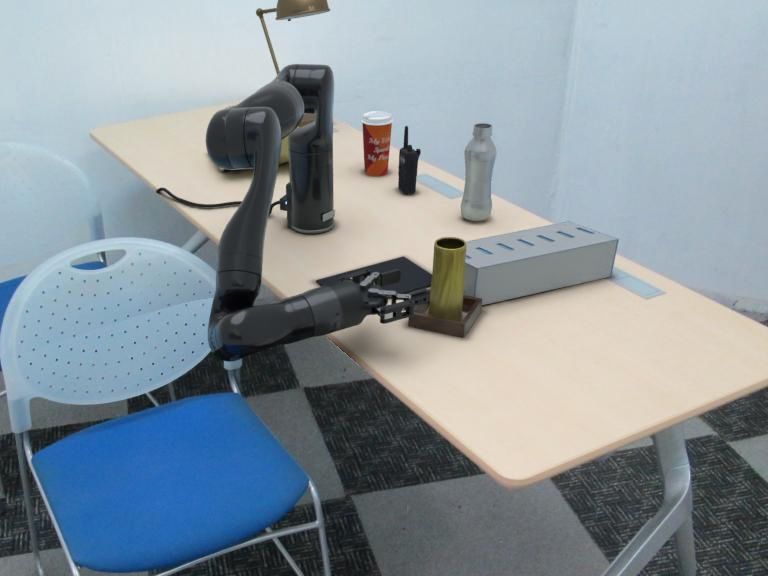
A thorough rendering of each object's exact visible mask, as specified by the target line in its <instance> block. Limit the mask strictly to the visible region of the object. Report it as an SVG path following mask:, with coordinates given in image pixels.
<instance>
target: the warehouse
mask: <svg viewBox="0 0 768 576" xmlns="http://www.w3.org/2000/svg"><path fill="white" fill-rule="evenodd" d="M619 240H620V238H617V237H615V236H612V235H608V234H606V233H603V232H601V231H597V230H594V229H592V228H589V227H586V226H584V225H580V224H578V223H575V222H572V221H564V222H558V223H553V224H548V225H543V226H537V227H533V228H528V229H523V230H518V231H517V230H516V231H512V232H507V233H502V234H498V235H497V234H496V235H492V236H487V237H482V238H476V239H471V240H466V241H465V242H466V257H465V275H464V291H463V295H465V296H471V297H476V298H481V299H482V306H485V305H489V304H490V305H491V304H494V303H499V302H503V301H509V300H512V299H516V298H521V297H525V296H529V295H534V294H539V293H543V292H549V291H552V290H557V289H563V288H566V287H570V286H575V285H579V284H584V283H589V282H592V281H598V280H602V279H607V278H611V277H612V275H613V270H614V266H615V260H616V255H617V251H618V245H619V242H620V241H619Z"/></svg>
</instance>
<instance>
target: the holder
mask: <svg viewBox="0 0 768 576" xmlns="http://www.w3.org/2000/svg"><path fill="white" fill-rule="evenodd" d="M427 290H429V291H430V292H431V288H427ZM429 301H430V297H429ZM429 301H428V302H427V303H424V304H421V305H418V306H414V316H412V317H408V319H407V321H408V322H407V326H408V327H411V328H416V329H420V330H426V331H431V332H434V333H439V334H444V335H450V336H454V337H459V338H465V337H466V335H467V334H468V332H469V331H470V329H471V328H472V326H473V325H474V323H475V322H476V320H477V319H478V318H479V315H480V314H481V312H482V309H483V308H482V306H483V305H482V299H481V298H476V297H471V296H465V295H463V308H462V311H465V312H467V313H466V314H465V316H464V317H463V320H462V321H457V320H452V319H447V318H442V317H437V316H432V315H428V313H427V314H426V313H425V311H426V310H427V309H428V308H429Z"/></svg>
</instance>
